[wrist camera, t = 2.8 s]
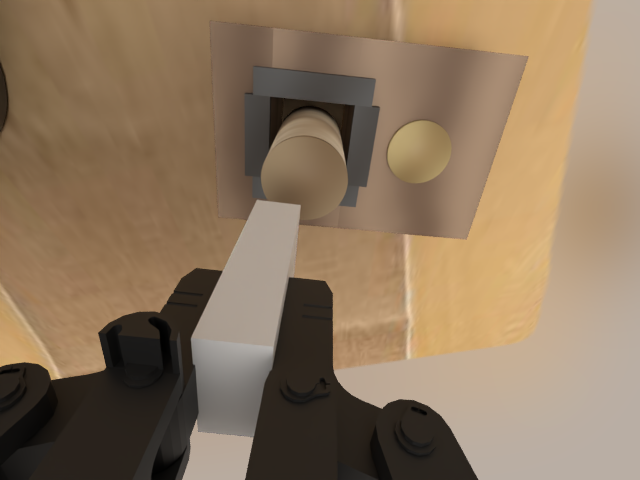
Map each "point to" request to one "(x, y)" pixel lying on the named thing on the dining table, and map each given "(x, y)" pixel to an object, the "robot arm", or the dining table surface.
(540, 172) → the dining table surface
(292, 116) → the oak peg
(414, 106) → the socket block
